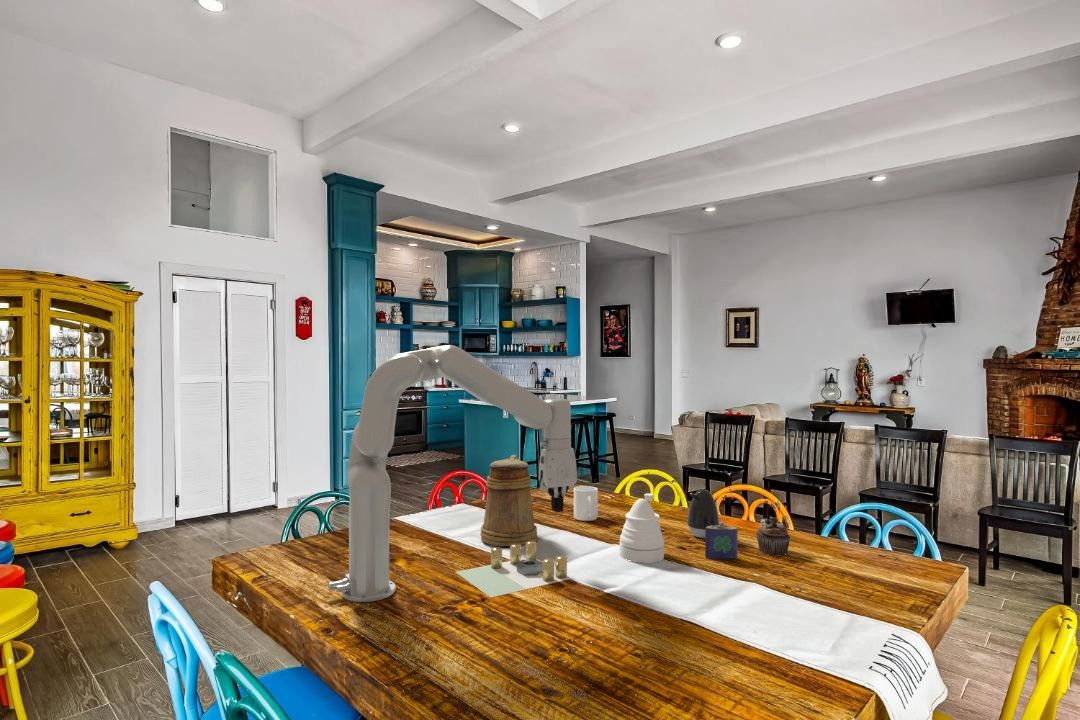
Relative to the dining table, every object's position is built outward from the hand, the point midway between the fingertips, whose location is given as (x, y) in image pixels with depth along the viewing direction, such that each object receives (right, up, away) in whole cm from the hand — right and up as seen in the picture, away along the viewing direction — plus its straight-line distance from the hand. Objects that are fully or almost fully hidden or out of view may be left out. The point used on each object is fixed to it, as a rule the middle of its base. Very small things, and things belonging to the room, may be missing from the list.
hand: (557, 510), depth 166 cm
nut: (-8, -15, -5) cm, 17 cm away
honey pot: (+25, -16, +11) cm, 32 cm away
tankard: (-15, -16, +29) cm, 36 cm away
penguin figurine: (+48, -16, +31) cm, 59 cm away
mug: (+12, -16, +50) cm, 54 cm away
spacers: (-8, -15, -5) cm, 18 cm away
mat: (-12, -16, -7) cm, 21 cm away
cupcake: (+65, -16, +16) cm, 69 cm away
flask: (+48, -16, +9) cm, 51 cm away
